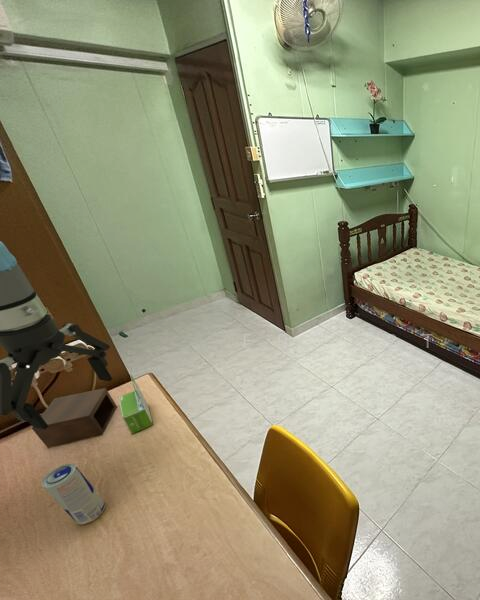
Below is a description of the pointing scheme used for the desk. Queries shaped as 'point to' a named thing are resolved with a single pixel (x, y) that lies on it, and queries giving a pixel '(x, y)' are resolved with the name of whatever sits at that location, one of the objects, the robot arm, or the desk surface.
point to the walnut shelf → (76, 417)
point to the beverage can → (74, 493)
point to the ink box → (135, 410)
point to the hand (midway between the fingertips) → (76, 401)
